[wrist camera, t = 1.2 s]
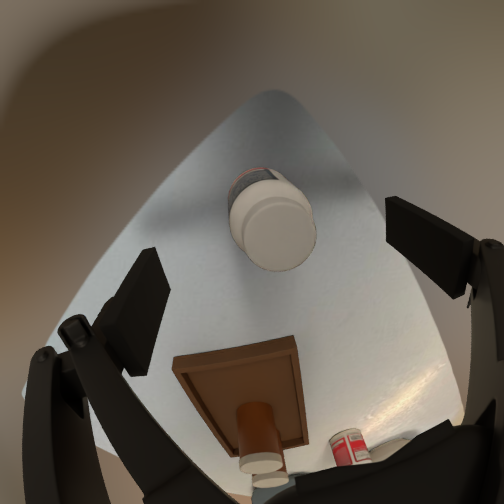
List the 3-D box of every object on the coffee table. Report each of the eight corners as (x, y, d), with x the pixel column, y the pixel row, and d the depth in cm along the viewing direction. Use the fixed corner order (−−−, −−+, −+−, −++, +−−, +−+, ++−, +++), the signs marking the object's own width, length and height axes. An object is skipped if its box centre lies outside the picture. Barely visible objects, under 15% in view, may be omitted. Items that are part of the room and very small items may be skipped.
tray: (173, 356, 29) (171, 369, 28) (293, 335, 29) (297, 347, 27) (230, 448, 40) (230, 457, 38) (306, 435, 40) (309, 444, 38)
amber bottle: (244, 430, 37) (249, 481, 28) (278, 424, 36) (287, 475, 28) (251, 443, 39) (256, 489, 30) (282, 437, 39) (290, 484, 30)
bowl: (356, 470, 55) (363, 494, 47) (343, 456, 47) (352, 486, 40) (417, 441, 53) (428, 464, 45) (418, 419, 45) (433, 447, 37)
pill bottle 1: (218, 215, 23) (214, 264, 15) (243, 156, 21) (253, 173, 13) (276, 237, 24) (300, 293, 16) (302, 182, 22) (343, 214, 14)
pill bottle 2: (330, 446, 44) (343, 491, 34) (327, 435, 41) (342, 485, 31) (360, 435, 43) (376, 479, 33) (359, 423, 41) (378, 472, 31)
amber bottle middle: (231, 404, 33) (234, 464, 25) (270, 398, 33) (280, 457, 25) (240, 422, 35) (244, 476, 27) (275, 416, 35) (285, 470, 27)
